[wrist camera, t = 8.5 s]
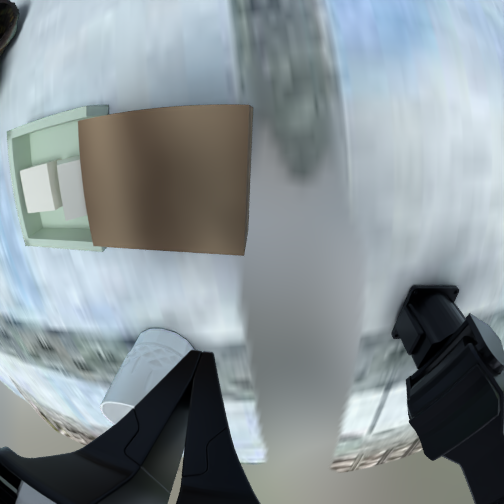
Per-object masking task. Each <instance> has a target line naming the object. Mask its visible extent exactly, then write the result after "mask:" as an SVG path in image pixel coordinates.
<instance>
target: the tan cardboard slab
mask: <svg viewBox="0 0 504 504" xmlns="http://www.w3.org/2000/svg"><path fill="white" fill-rule="evenodd" d="M252 121H253V107H251V106H250V105H190V106H174V107H162V108H152V109H143V110H136V111H128V112H122V113H115V114H109V115H104V116H99V117H93V118H89V119H84V120H79V121H78V137H79V153H80V164H81V174H82V183H83V190H84V198H85V204H86V210H87V216H88V222H89V227H90V232H91V237H92V242H93V246H99V247H114V248H130V249H145V250H161V251H177V252H193V253H209V254H225V255H242V256H244V253H245V247H246V241H247V234H248V221H249V195H250V170H251V145H252Z"/></svg>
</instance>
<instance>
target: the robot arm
mask: <svg viewBox="0 0 504 504" xmlns="http://www.w3.org/2000/svg"><path fill="white" fill-rule="evenodd" d="M414 291H415V292H414ZM458 292H459V289H458V287H457V286H413V287H412V288H411V289H410V291H409V294H408V297H407V299H406V302H405V304H404V307H403V309H402V311H401V313H400V316H399V318H398V320H397V323H396V325H395V327H394V329H393V332H392V337H393V338H394V339H400V338H401V340H402V342H403V344H404V347H405V349H406V351H407V353H408V355H412V358H413V360H414V362H415V364H416V367H417V369H418V370H417V371H416V372H415V373H414V374H413V375H412V376H410V377H408V378H407V379H406V388H407V407H408V415H409V419H410V420H409V423H410V424H411V426H412V427H413V428H414V429H415V431H416V433H417V435H418V436H419V439H420V441H421V444H422V448H423V451H424V454H425V455H426V456H427V457H428V458H429V459H430V460H432V461H434V460H436V459H438V458H439V457H441V456H442V457H444V458H446V459H448V460H451V461H452V462H455V463H457V464H459V465H460V467H461V469H462V471H463V473H464V476H465V478H466V481H467V484H468V486H469V489H470V492H471V494H472V497H473V500H474V503H475V504H504V350H503V347H502V343H501V340H500V339H499V337H498V336H497V335H496V333H495V332H494V331H493V330H492V328H491V327H490V326H489V325H488V324H487V323H485V322H483V321H482V320H480V319H479V318H477V317H475V316H474V315H472V314H470V313H469V315H468V316H467V317H466V318H465V317H464V315H463V314H462V312H461V311H460V310H459V308H458V307H457V306H456V304H455V303H454V301H455V299H456V297H457V295H458ZM184 447H185V448H184ZM183 451H184V458H183V468H182V479H181V487H180V492H179V496H178V499H177V502H176V504H260V502H259V500H258V499H257V497H256V495H255V494H254V492H253V489H252V488H251V485H250V483H249V481H248V479H247V477H246V475H245V473H244V470H243V468H242V466H241V464H240V461H239V459H238V456H237V454H236V451H235V449H234V445H233V442H232V438H231V434H230V430H229V426H228V421H227V417H226V412H225V408H224V403H223V398H222V393H221V388H220V383H219V378H218V373H217V368H216V363H215V357H214V353H213V352H207V351H203V352H202V351H200V350H190V351H189V352H188V353H187V354H186V355H185V356H184V357H183V358H182V359H181V360H180V361H179V362H178V363H177V365H176V366H175V367H174V368H173V369H172V370H171V371H170V372H169V373H168V374H167V375H166V376H165V377H164V378H163V379H162V380H161V381H160V382H159V383H158V384H157V385H156V386H155V387H154V388H153V389H152V390H151V391H150V392H149V393H148V394H147V395H146V396H145V397H144V398H143V399H142V400H141V401H140V402H139V403H138V404H137V405H136V406H134V408H132V409H131V410H130V411H129V412H128V413H127V414H126V415H125V416H124V417H123V418H122V419H121V420H120V421H119V422H117V423H116V424H115V425H114V426H112V427H111V428H110V429H108V430H107V431H106V432H104V433H103V434H102V435H100V436H99V437H97V438H96V439H95V440H93V441H92V442H90V443H89V444H88V445H86V446H85V447H83V448H81V449H79V450H77V451H75V452H71V453H66V454H60V455H53V456H46V457H38V458H24V457H21V456H19V455H17V454H16V453H15V452H13V451H12V450H11V449H10V448H8V447H3V448H0V504H168V500H169V497H170V493H171V490H172V487H173V483H174V480H175V477H176V474H177V470H178V467H179V464H180V460H181V457H182V454H183Z"/></svg>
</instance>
